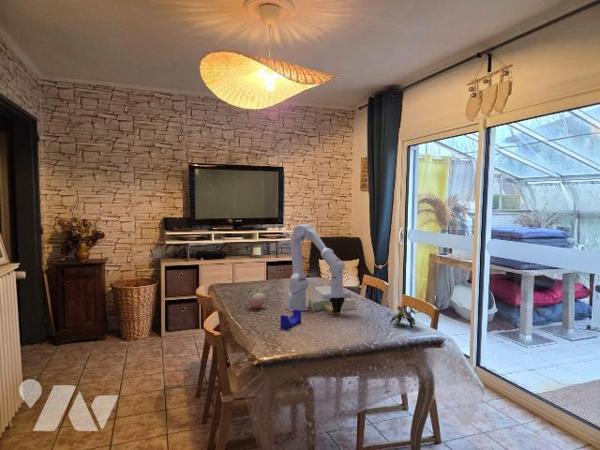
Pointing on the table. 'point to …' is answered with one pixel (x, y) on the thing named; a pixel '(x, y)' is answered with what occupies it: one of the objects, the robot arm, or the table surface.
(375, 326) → the table surface
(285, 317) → the blue u-shaped block
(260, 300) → the decorative fruit
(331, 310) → the doorstop block
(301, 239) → the robot arm
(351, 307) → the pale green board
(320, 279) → the table surface
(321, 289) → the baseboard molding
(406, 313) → the dark green branching piece
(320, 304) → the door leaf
